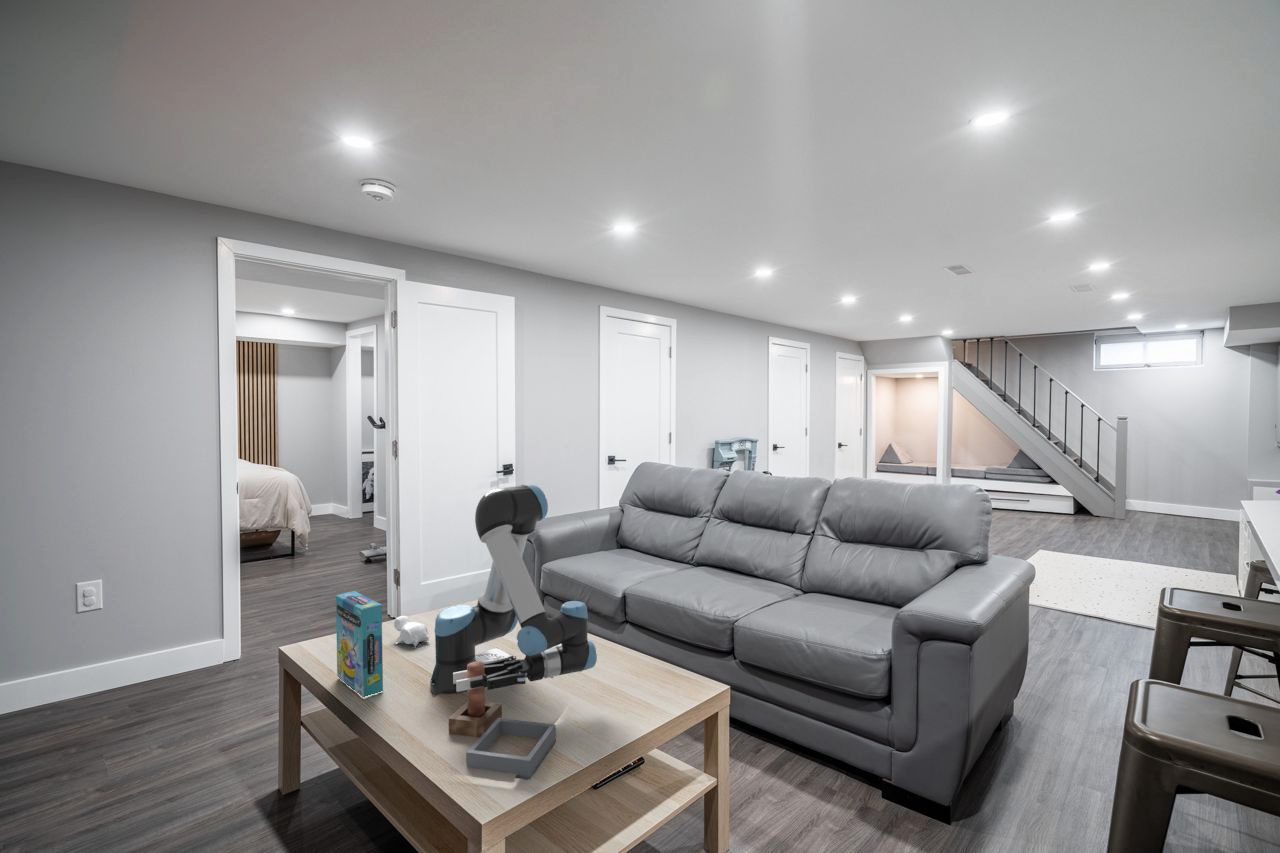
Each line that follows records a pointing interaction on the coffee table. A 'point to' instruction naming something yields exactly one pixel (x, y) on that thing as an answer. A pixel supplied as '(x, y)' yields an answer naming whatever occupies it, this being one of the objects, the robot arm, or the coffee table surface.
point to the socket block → (474, 720)
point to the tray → (512, 763)
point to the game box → (359, 643)
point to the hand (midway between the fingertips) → (455, 682)
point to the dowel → (476, 691)
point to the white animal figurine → (410, 631)
